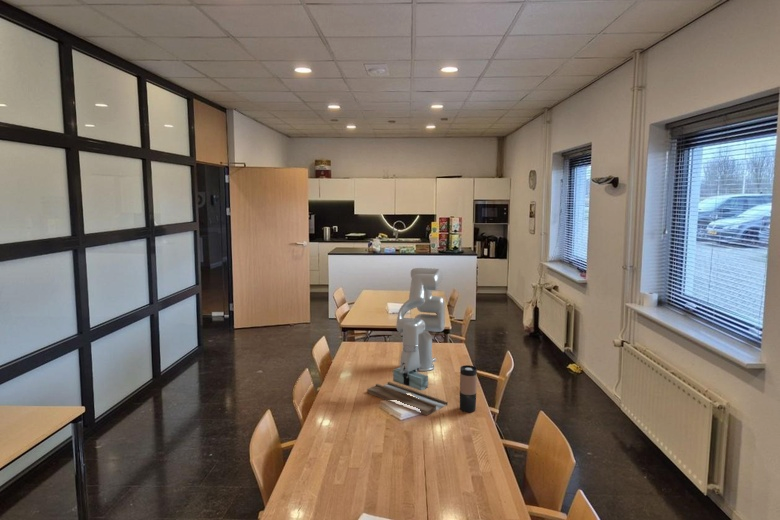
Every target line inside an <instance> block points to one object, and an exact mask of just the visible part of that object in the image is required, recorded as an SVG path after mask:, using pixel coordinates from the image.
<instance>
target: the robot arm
mask: <svg viewBox="0 0 780 520" xmlns="http://www.w3.org/2000/svg"><path fill="white" fill-rule="evenodd" d="M410 277H411V281H410V289H409V295H408V300H406V301H405V302H404V303H403V304H402V305H401V307H400V308H399V309H398V313H397V317H396V325H395V326H396V330H397V332H398V333H402V351H401V355H400V363H399V364H400V366H399V367H400V374H402V375H403V377H404V386H406V385H407V386H406V387H409V372H410V371H414V372H417V373H419V372H420V371H421V372H428V371H429V372H430V371H432V370H435V364H433V363H434V362H436V361H437V358H436V357H434V358H433V337H432V335H431V334H430V332H435V333H436V332H437V333H438V332H439V333H440V332H443V331H445V325H446V317H445V316H446V302H445V298H443V297H442V296H438V295H437V296H436V295H432V293H433V292H432V291H437V290H438V289H439V287H440V286H441V285H440V284H441V283H442V280H443V272H442V270H441V269H439V268H428V267H427V268H426V267H415V268H414V267H413V268H412V269H411V270H410ZM413 309H417V311H418V312H419V313H420V314H416V315H415V317H414V318H412V317H405V315H406V313H408V312H409V311H411V310H413ZM425 313H426V314H425ZM406 372H407V374H406Z"/></svg>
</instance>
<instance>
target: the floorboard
mask: <svg viewBox="0 0 780 520" xmlns="http://www.w3.org/2000/svg"><path fill="white" fill-rule="evenodd" d="M366 391H367V392H366V393H367V394H369V395H372V396H374V397H377V398H380V399H383V400H385V401H387V400H397V401H400V402H402V403H404V404H407V405H410V406H413V407H416V408H418V409H420V411H421V413H420V414H422V415H425V416H429V415H431V414H433V413H435V412H437V411H439V410H440V409H442V408H444V407H446V406H448V401H445V400H442V399H440V398H436V397H434V396H431V395H428V394H426V393H422V392H421V391H420V392H419V391H416V390H414V389H411V388H407V387H406V386H405V387H404V386H401V385H400V384H399V385H398V384H396V383H395V382H394V383H393V382H391V381H387V384H384V385H382V384H379V383H375V385H374V386H371V387H370V388H367V390H366ZM406 393H411V394H412V395H414V396H416V397H417V398H416V397H413V396H410V395H407V394H406ZM418 398H419V399H418Z"/></svg>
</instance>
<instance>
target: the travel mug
mask: <svg viewBox="0 0 780 520" xmlns="http://www.w3.org/2000/svg"><path fill="white" fill-rule="evenodd" d="M459 369H460V370H459V371H460V372H459V374H460V375H459V410H460V412H463V413H467V414H468V413H469V414H471V413H475V412H476V409H477V408H476V403H477V388H478V387H477V383H478V381H477V380H478V379H477V378H478V374H477V373H478V368H477V367H476V366H473V365H466V364H465V365H462V366H460V367H459Z"/></svg>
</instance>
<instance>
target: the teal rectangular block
mask: <svg viewBox="0 0 780 520" xmlns="http://www.w3.org/2000/svg"><path fill="white" fill-rule="evenodd" d="M392 370H393V371H392V381H393V382H394V383H398V384H399V385H404V377H403V375H402V374H400V366H399V367H397V368H396V367H395V368H394V369H392ZM406 374H407V372H406ZM428 385H429V375H426V374H423V373H420V372H418V373H417V372H414V371H410V372H409V386H407V385H404V386H405V387H409V388H412V389H416V390H418V391H420V392H421V391H424V390H426V389H428V388H429V387H428Z"/></svg>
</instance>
